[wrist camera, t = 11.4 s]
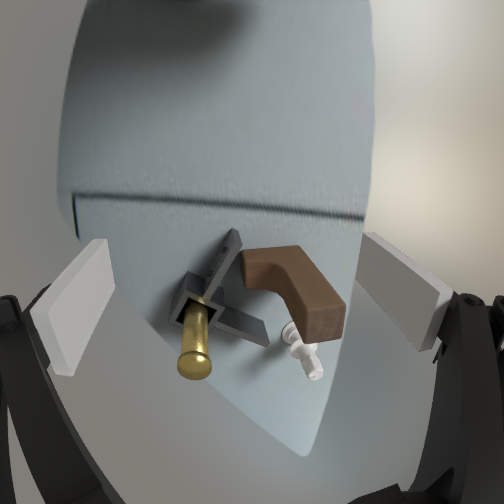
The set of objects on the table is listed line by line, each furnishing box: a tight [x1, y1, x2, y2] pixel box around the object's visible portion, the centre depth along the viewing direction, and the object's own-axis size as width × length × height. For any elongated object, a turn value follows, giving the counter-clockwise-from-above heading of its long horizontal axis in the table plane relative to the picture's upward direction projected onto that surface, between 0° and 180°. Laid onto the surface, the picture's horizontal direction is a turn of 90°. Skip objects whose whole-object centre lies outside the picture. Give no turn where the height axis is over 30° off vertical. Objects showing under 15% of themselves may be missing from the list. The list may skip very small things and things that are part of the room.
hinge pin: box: [177, 297, 212, 380], centre depth 38 cm, size 4×4×17 cm
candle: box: [282, 321, 323, 381], centre depth 46 cm, size 5×5×12 cm
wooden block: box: [241, 245, 346, 344], centre depth 37 cm, size 9×4×18 cm, turn 92°
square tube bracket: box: [168, 228, 270, 347], centre depth 43 cm, size 15×15×6 cm
